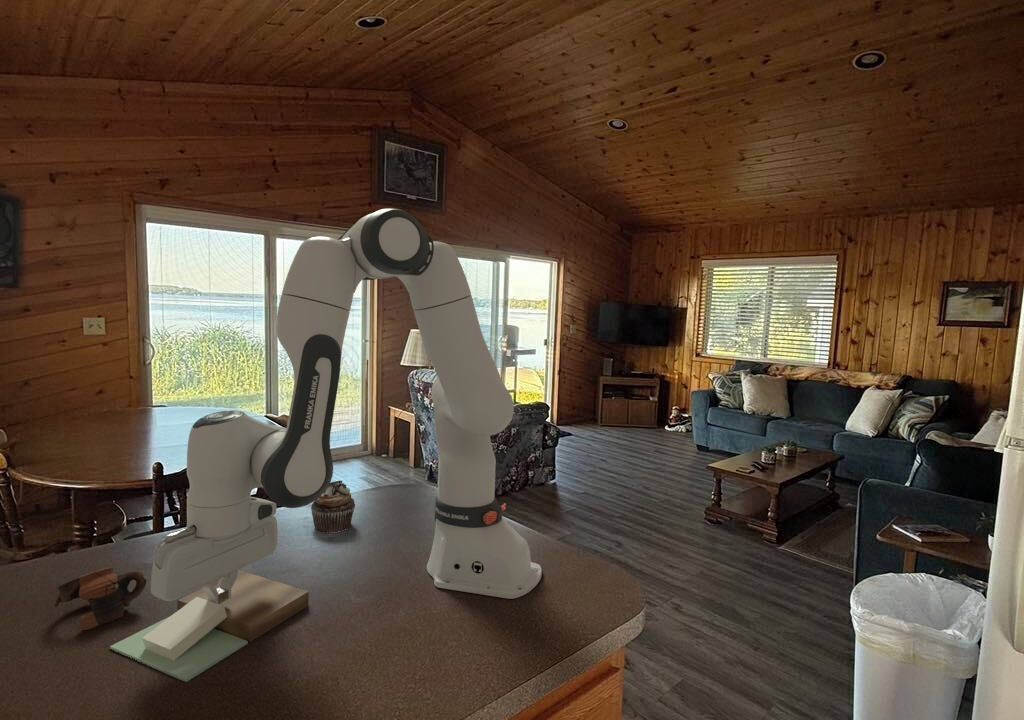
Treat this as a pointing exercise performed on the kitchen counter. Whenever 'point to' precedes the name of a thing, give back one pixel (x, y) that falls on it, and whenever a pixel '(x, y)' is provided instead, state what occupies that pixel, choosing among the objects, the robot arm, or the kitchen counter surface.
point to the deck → (255, 605)
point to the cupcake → (333, 508)
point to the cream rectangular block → (184, 628)
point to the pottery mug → (102, 594)
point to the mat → (188, 663)
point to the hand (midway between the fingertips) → (219, 601)
